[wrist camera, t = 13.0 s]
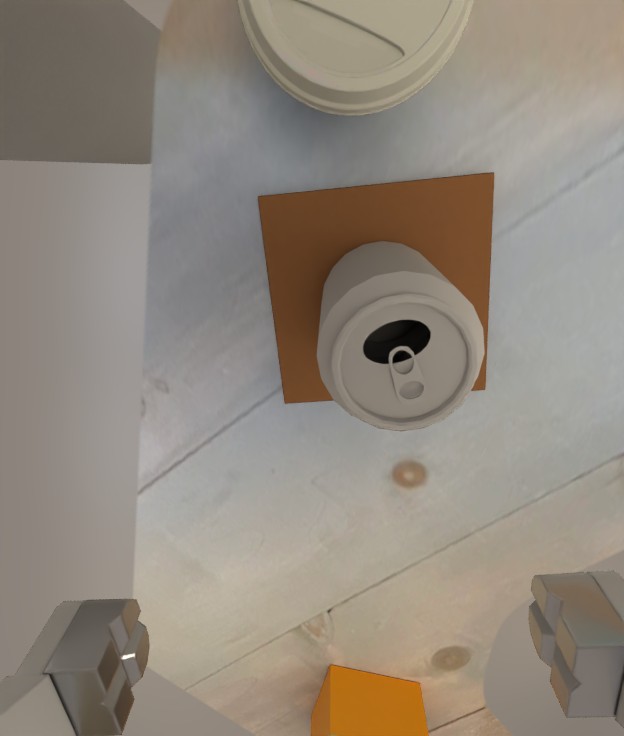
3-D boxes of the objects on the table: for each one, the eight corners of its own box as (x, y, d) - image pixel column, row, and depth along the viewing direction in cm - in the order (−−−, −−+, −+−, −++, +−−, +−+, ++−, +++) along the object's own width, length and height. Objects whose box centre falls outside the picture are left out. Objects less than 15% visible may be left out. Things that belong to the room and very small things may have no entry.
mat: (285, 401, 35) (284, 403, 34) (258, 196, 30) (257, 196, 29) (483, 387, 34) (485, 390, 33) (492, 172, 28) (494, 172, 28)
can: (421, 221, 29) (474, 252, 18) (450, 332, 32) (513, 419, 21) (305, 262, 31) (289, 315, 19) (343, 366, 33) (347, 465, 22)
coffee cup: (237, 30, 26) (168, -72, 15) (367, -95, 24) (396, -320, 13) (330, 165, 29) (329, 162, 18) (456, 63, 26) (544, -13, 15)
